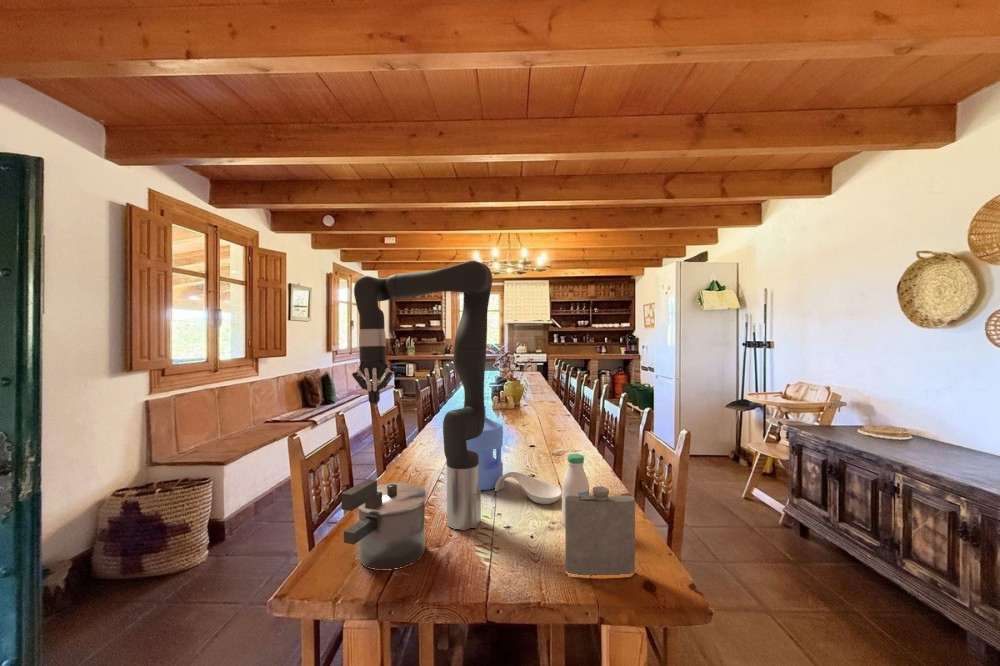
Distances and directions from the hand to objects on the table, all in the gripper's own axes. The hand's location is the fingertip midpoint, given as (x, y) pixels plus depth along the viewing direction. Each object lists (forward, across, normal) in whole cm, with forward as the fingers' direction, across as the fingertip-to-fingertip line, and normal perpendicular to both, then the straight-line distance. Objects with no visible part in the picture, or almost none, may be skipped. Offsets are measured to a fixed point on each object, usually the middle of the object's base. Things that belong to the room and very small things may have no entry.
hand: (374, 403), depth 127 cm
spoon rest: (+36, +41, +25) cm, 60 cm away
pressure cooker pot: (+35, +11, -20) cm, 42 cm away
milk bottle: (+36, +57, +7) cm, 68 cm away
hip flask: (+37, +63, -17) cm, 75 cm away
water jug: (+34, +24, +35) cm, 54 cm away
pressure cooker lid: (+22, +11, -21) cm, 32 cm away
